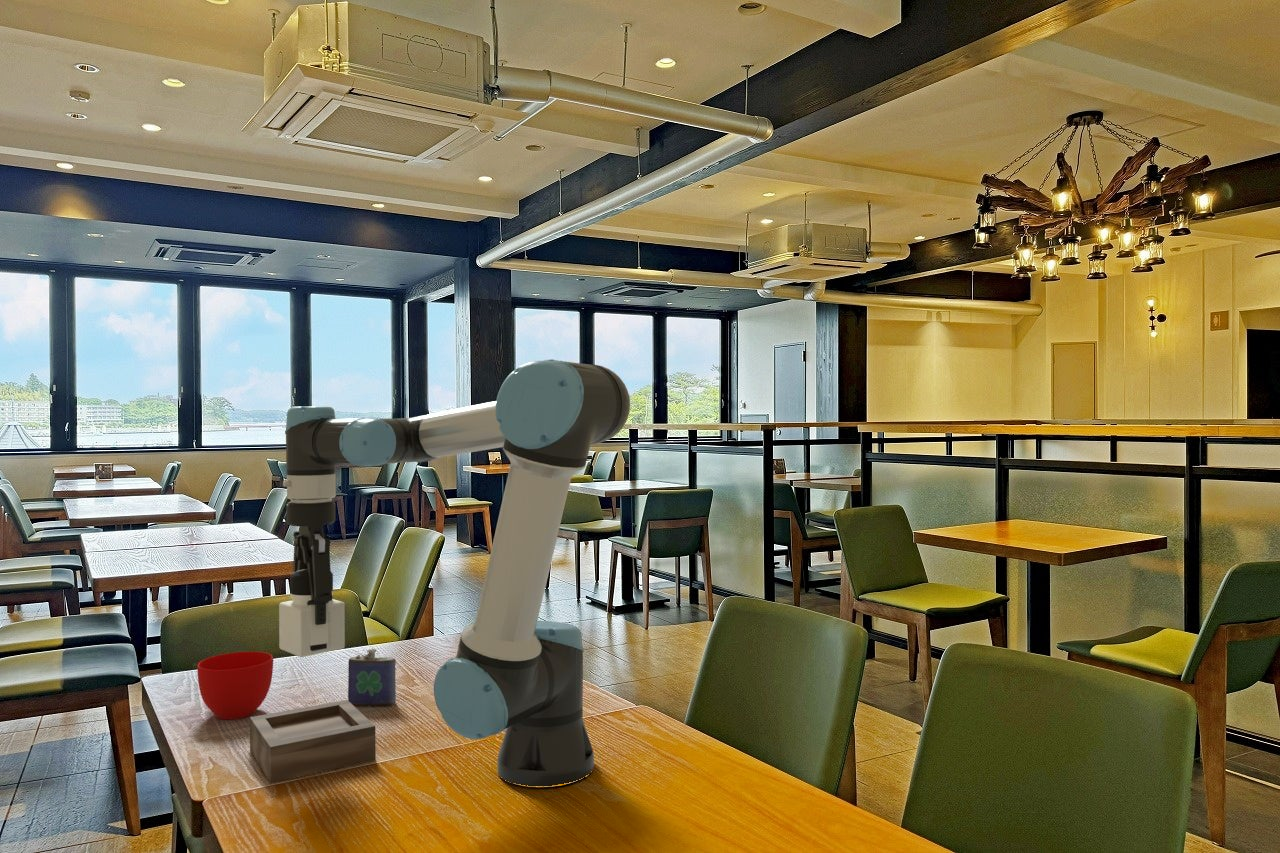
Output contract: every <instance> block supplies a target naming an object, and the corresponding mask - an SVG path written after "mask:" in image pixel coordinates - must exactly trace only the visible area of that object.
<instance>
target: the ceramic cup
mask: <svg viewBox="0 0 1280 853" xmlns="http://www.w3.org/2000/svg"><path fill="white" fill-rule="evenodd" d="M196 669H197V671H196V672H197V681H198V687H199V692H200V696H201V699H202V701H203V702H204V704H205V705H206V707H207V708H208V710H209V711H210V712H211V713H212V714H214V715H215V716H216V717H217V719H221V720H238V719H242V718H246V717H251V716H252V715H254V714H255V713H256V711H257V710H258V708H260V706H261V705H262V704H263V702H264V701H265V699H266V697H267V695H268V693H269V691H270V688H271V684H272V679H273V672H274V670H273V669H274V657H273V655H272V654H271V653H269V652H264V651H235V652H227V653H222V654H217V655H213V656H210V657H208V658H205V659H202V660H200V661H199V662H198V663H197V668H196Z"/></svg>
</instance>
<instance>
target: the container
mask: <svg viewBox="0 0 1280 853" xmlns="http://www.w3.org/2000/svg"><path fill="white" fill-rule="evenodd" d="M289 583H290V600H287V601H282V602H280V603H279V605H278V608H279V609H278V613H279V614H278V618H279V621H278V625H279V626H278V627H279V628H278V630H279V631H278V632H279V633H278V636H279V638H278V639H279V641H278V642H279V646H278V647H279V649H280V650H282V651H284V652H287V653H289V654H292V655H295V656H296V657H298V658H299V657H300V658H304V657H308V656H310V657H311V656H314V655H319V654H323V653H329V652H333V651H338V650H343V649H345V646H346V634H345V633H346V628H345V627H346V623H345V622H346V621H345V620H346V618H345V617H346V616H345V615H346V614H345V612H346V611H345V610H346V608H345V606H346V605H345V602H344V601H342V600H337V599H334V598H332V601H329V603H328V643H326V644H319V645H312V646H311V645H310V610H309V605H307V602H308V601H309V600H311V592H310V583H309V575H308V569H303V570H299V571H296V572H295V573H293V572H292V573H291V575H290V582H289ZM331 586H332V597H333V596H334V573H333V572H332V571H331ZM321 594H323V593H321ZM319 595H320V594H319Z"/></svg>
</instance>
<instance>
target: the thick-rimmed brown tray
mask: <svg viewBox="0 0 1280 853" xmlns="http://www.w3.org/2000/svg"><path fill="white" fill-rule="evenodd" d="M376 746H377V745H376V725H375V724H374V723H373V722H372V721H370V719H368V717H366V716H365V715H364V714H363V713H362V712H361V711H360V710H359V709H358V708H357V707H356V706H353V705H352V704H351V703H350V702H349V701H348V699H343V700H339V701H333V702H327V703H323V704H317V705H311V706H307V707H300V708H294V709H289V710H283V711H277V712H272V713H265V714H261V715H255V716H254V715H253V716H249V751H250V752H251V754H252V755H253V757H254V759H255V761H256V762H257V764H258V766H259V767H260V768H261V770H262V772H263V773H264V775H265V776H266V778H267V780H268V781H269V783H270V784H273V783H277V781H278V782H281V780H282V781H287V780H292V779H295V778H294V777H296V778H299V777H298V776H300V777H304V776H303V775H305V776H308V775H307V774H309V775H313V773H314V774H318V773H323V772H327V771H332V770H336V769H340V768H341V769H342V768H345V767H349V766H355V765H358V764H363V763H368V762H372V761H376V760H377V759H376V757H377V755H376V753H377V752H376ZM322 771H323V772H322ZM272 782H273V783H272Z"/></svg>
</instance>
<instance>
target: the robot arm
mask: <svg viewBox="0 0 1280 853" xmlns="http://www.w3.org/2000/svg"><path fill="white" fill-rule="evenodd" d="M630 410H631V398H630V394H629V391H628V388H627V386H626V384H625V383H624V380H622V379H621V377H620V376H619V375H618V374H617V373H616V372H614V371H612V370H611V369H610V368H607V367H605V366H603V365H598V364H593V363H579V362H572V361H564V360H559V359H558V360H556V359H551V358H550V359H544V360H532V361H529V362H526V363H524V364H522V365H520V366H519V367H517V368H516V369H514V370H513V371H512V372H510V373H509V375H507V377H506V378H505V379H504V380H503V383H502V384H501V386H500V389H499V390H498V393H497V397H496V400H495V401H488V402H483V403H479V404H473V405H468V406H465V407H459V408H455V409H449V410H444V411H440V412H434V413H430V414H424V415H423V414H422V415H419V416H413V417H404V418H403V417H401V418H384V417H383V418H379V417H377V418H374V417H358V418H357V417H356V418H353V417H351V418H337V417H336V413H335V409H334V408H333V407H332V406H292V407H290V408H289V409H288V410H287V412H286V423H285V424H286V425H285V431H284V435H285V456H286V457H285V460H286V461H285V463H286V464H285V466H286V469H285V470H286V480H285V481H283V482H282V485H283V488H285V487H286V499H288V500H290V501H288V502H287V504H285V505H286V523H287V525H289V526H290V527H291V526H292V527H298V530H294V531H293V565H292V566H293V568H292V569H293V570H292V574H293V573H295V572H296V571H299V570H303V569H308V575H309V583H310V592H311V600H309V601H308V602H307V605H309V610H310V645H311V646H312V645H319V644H326V643H328V603H329V601H332V599H334V598H333V596H332V586H331V572H332V570H331V569H332V568H331V556H330V553H331V551H330V550H331V548H330V547H331V539H330V538H327V536H326V535H325V534H324V526H329V525H333V524H334V523H335V522H336V503H335V501H334V500H333V499H334V498H336V496H337V495H336V491H337V490H336V489H337V488H336V467H335V466H336V465H338V466H351V467H352V466H356V467H358V468H366V467H371V468H372V467H379V466H382V465H387V464H389V465H390V464H397V463H425V462H430V461H435V460H437V459H439V458H445V457H450V456H458V455H463V454H468V453H474V452H482V451H486V450H492V449H498V448H502V450H503V452H504V454H505V455H506V457H507V458H508V460H509V462H510V466H509V470H508V474H507V477H506V483H505V487H504V492H503V496H502V501H501V505H500V509H499V514H498V518H497V523H496V528H495V531H494V532H495V533H494V536H493V541H492V546H491V550H490V555H489V559H488V563H487V568H486V572H485V576H484V582H483V586H482V591H481V595H480V598H479V602H478V609H477V611H476V612H477V613H476V616H475V620H474V622H472V623H471V624H468V625H466V626H465V627H464V628H463V629H462V631H461V633H460V638H459V644H458V645H457V646H458V648H457V652H456V655H455V657H452V658H449V659H448V660H447V661H446V662H444V663H443V664H442V665H441V666H440V667H439V669H438V670H437V672H436V674H435V677H434V681H433V696H434V702H435V706H436V707H437V708H436V709H437V710H438V711H439V713H440V714H441V718H442V720H443V722H445V723H446V725H447V726H448V727H449V728H450V729H451V730H452V731H453V732H455V733H456V734H458V735H459V736H462V737H463V738H466V739H469V740H482V739H485V738H488V737H491V736H495V735H498V734H500V733H502V732H503V731H504V730H505V733H504V735H503V739H502V742H501V745H500V749H499V751H498V753H497V754H498V755H497V760H496V761H497V770H498V771H497V770H496V771H497V775H498V774H499V775H498V776H500V777H502V778H503V779H504V780H506V781H509V782H511V783H516V784H521V785H526V786H527V785H528V786H552V785H558V784H564V783H569V782H573V781H576V780H579V779H581V778H583V777H585V776H586V775H588V774H590V773H591V771H592V770H593V768H595V753H594V749H593V747H592V743H591V740H590V737H589V733H588V731H587V728H586V724H585V722H584V716H583V714H584V712H583V710H584V706H583V702H584V700H583V697H584V694H583V693H584V692H583V690H584V687H583V686H584V680H583V679H584V677H583V675H584V668H583V667H584V652H585V651H584V650H585V648H584V647H583V646H584V645H583V633H582V631H581V629H580V628H579V627H578V626H576V625H574V624H571V623H566V622H559V621H553V620H552V621H549V620H539V616H540V611H541V606H542V603H543V599H544V595H545V591H546V586H547V582H548V579H549V573H550V570H551V565H552V560H553V558H554V557H553V555H554V552H555V548H556V544H557V539H558V536H559V531H560V527H561V523H562V519H563V514H564V509H565V505H566V501H567V497H568V493H569V489H570V485H571V481H572V480H571V479H572V477H573V476H574V475H576V474H577V473H579V472H580V471H582V470H583V469H585V467H586V464H587V460H588V456H589V452H590V447H591V445H594V444H600V443H603V442H607V441H609V440H610V439H612V438H614V437H615V436H616V435H618V433H620V432H621V431H622V429H623V428H624V426H625V425H626V423H627V421H628V419H629V415H630ZM321 593H323V594H321ZM319 594H320V595H319ZM593 771H594V770H593ZM591 774H592V773H591ZM591 774H590V775H591ZM500 777H499V778H500ZM503 779H502V780H503ZM504 780H503V781H504ZM506 781H505V782H506Z"/></svg>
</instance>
